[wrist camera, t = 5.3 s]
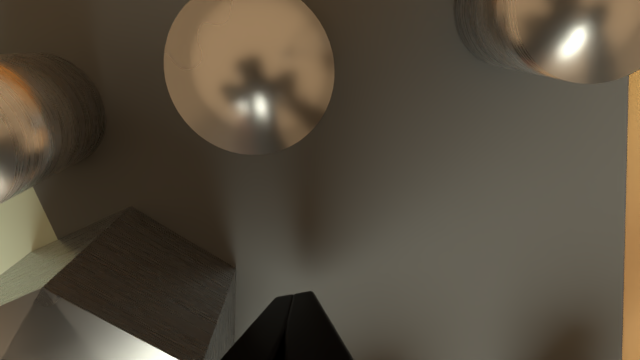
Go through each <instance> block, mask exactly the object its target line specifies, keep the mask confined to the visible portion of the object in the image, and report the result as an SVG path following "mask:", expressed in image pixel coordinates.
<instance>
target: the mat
mask: <svg viewBox="0 0 640 360" xmlns="http://www.w3.org/2000/svg"><path fill="white" fill-rule="evenodd" d="M189 1H190V0H0V55H1V54H14V53H27V52H43V53H49V54H53V55H56V56H59V57H61V58H64V59H66V60H67V61H69V62H71V63H72V64H74V65H75V66H77V67H78V68H79V69H80V70H82V71H83V72H84V73H85V74H86V75H87V76H88V77H89V78H90V80H91V81H92V82H93V84H94V85H95V87H96V88H97V90H98V92H99V94H100V96H101V98H102V101H103V105H104V109H105V115H106V125H105V131H104V135H103V138H102V140H101V142H100V144H99V145H98V147H97V148H96V149H95V151H94V152H93V153H91V154H90V155H89V156H88V157H86V158H85V159H83V160H81V161H79V162H77V163H75V164H74V165H72V166H70V167H68V168H66V169H64V170H62V171H61V172H59V173H57V174H55V175H53V176H51V177H49V178H48V179H46V180H44V181H42V182H40V183H38V184H36V185H35V186H33V188H34V191H35V193H36V195H37V197H38V199H39V201H40V203H41V205H42V207H43V209H44V212H45V214H46V216H47V218H48V220H49V222H50V224H51V226H52V228H53V230H54V233H55V235H56V237H57V239H60V238H62V237H65V236H67V235H69V234H71V233H73V232H76V231H78V230H80V229H82V228H84V227H87V226H89V225H91V224H93V223H95V222H97V221H100V220H102V219H104V218H106V217H108V216H111V215H113V214H115V213H117V212H119V211H122V210H124V209H126V208H128V207H130V206H132V207H133V208H135V209H137V210H138V211H140V212H142V213H143V214H145V215H147V216H148V217H150V218H152V219H154V220H155V221H157V222H159V223H160V224H162V225H164V226H165V227H167V228H169V229H170V230H172V231H174V232H175V233H177V234H179V235H181V236H182V237H184V238H186V239H187V240H189V241H191V242H192V243H194V244H196V245H197V246H199V247H201V248H202V249H204V250H206V251H208V252H209V253H211V254H213V255H214V256H216V257H218V258H219V259H221V260H223V261H224V262H226V263H228V264H229V265H231V266H233V267H235V268H236V297H235V331H234V343H235V342H236V341H237V340H238V339H239V338H240V337H241V336H242V334H243V333H244V332H245V331H246V330H247V329H248V328H249V326H250V325H251V324H252V323H253V322H254V321H255V320H256V319H257V317H258V316H259V315H260V314H261V313H262V312H263V311H264V310H265V308H266V307H267V306H268V305H269V304H270V303H271V302H272V301H273V299H274V298H276V297H278V296H284V295H290V294H296V293H301V292H306V291H313V292H314V294H315V295H316V297H317V299H318V300H319V302H320V304H321V305H322V307H323V309H324V310H325V312H326V314H327V315H328V317H329V319H330V320H331V322H332V324H333V325H334V327H335V329H336V330H337V332H338V334H339V335H340V337H341V339H342V340H343V342H344V344H345V345H346V347H347V349H348V350H349V352H350V354H351V355H352V357H353V359H354V360H622V334H623V292H624V251H625V209H626V168H627V126H628V84H629V75H627V76H625V77H622V78H620V79H617V80H613V81H609V82H604V83H597V84H582V83H574V82H569V81H564V80H559V79H554V78H550V77H545V76H540V75H535V74H530V73H526V72H521V71H516V70H511V69H506V68H502V67H497V66H493V65H489V64H487V63H484V62H482V61H480V60H479V59H477V58H476V57H475V56H473V55H472V54H471V53H470V52H469V51H468V50H467V49H466V48H465V46H464V45H463V43H462V42H461V40H460V38H459V35H458V33H457V30H456V26H455V21H454V0H301V1H302V2H304V3H305V4H306V5H307V6H308V8H309V9H310V10H311V11H312V12H313V13H314V14H315V16H316V17H317V18H318V20H319V21H320V23H321V25H322V27H323V28H324V30H325V32H326V34H327V37H328V39H329V42H330V45H331V49H332V53H333V59H334V85H333V91H332V95H331V99H330V101H329V104H328V106H327V109H326V111H325V113H324V114H323V116H322V118H321V119H320V121H319V122H318V123H317V125H316V126H315V127H314V128H313V129H312V130H311V132H310V133H309V134H308V135H306V136H305V137H304V138H303V139H301V140H300V141H299V142H297V143H295V144H294V145H292V146H290V147H288V148H285V149H283V150H281V151H277V152H274V153H269V154H262V155H246V154H238V153H234V152H230V151H227V150H224V149H222V148H219V147H217V146H215V145H213V144H211V143H209V142H208V141H206V140H205V139H203V138H202V137H201V136H199V135H198V134H197V133H196V132H195V131H194V130H192V129H191V127H190V126H189V125H188V124H187V123H186V122H185V121H184V119H183V118H182V117H181V115H180V114H179V112H178V111H177V109H176V107H175V105H174V104H173V102H172V99H171V97H170V94H169V92H168V88H167V84H166V81H165V74H164V51H165V44H166V40H167V36H168V33H169V31H170V28H171V26H172V24H173V22H174V20H175V18H176V17H177V15H178V13H179V12H180V11H181V10H182V8H183V7H184V6H185V5H186V4H187V3H188V2H189Z"/></svg>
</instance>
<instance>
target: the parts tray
mask: <svg viewBox="0 0 640 360" xmlns="http://www.w3.org/2000/svg"><path fill="white" fill-rule="evenodd" d="M56 240H58V239H57V237H56V235H55V233H54V230H53V228H52V226H51V224H50V222H49V220H48V218H47V216H46V214H45V212H44V209H43V207H42V205H41V203H40V201H39V199H38V197H37V195H36V193H35V191H34V188H33V187H31V188H29V189H27V190H25V191H24V192H22V193H20V194H18V195H16V196H14V197H12V198H11V199H9V200H7V201H5V202H3V203H1V204H0V275H1V274H2V273H4V272H5V271H6V270H8V269H9V268H10V267H12V266H13V265H14V264H16V263H17V262H18V261H20V260H21V259H22V258H24V257H25V256H26V255H27V254H29V253H30V252H32V251H34V250H36V249H38V248H40V247H43V246H45V245H47V244H49V243H51V242H54V241H56Z"/></svg>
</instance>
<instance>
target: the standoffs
mask: <svg viewBox="0 0 640 360" xmlns="http://www.w3.org/2000/svg"><path fill="white" fill-rule="evenodd" d="M454 21H455V26H456V30H457V33H458V35H459V38H460V40H461V42H462V43H463V45H464V46H465V48H466V49H467V50H468V51H469V52H470V53H471V54H472V55H473V56H475V57H476V58H477V59H479V60H480V61H482V62H484V63H487V64H489V65H493V66H497V67H502V68H506V69H511V70H516V71H521V72H526V73H530V74H535V75H540V76H545V77H550V78H554V79H559V80H564V81H569V82H574V83H582V84H597V83H604V82H609V81H613V80H617V79H620V78H622V77H625V76H627V75H630V74H632V73H634V72H636V71H637V70H639V69H640V0H454ZM164 74H165V81H166V84H167V88H168V92H169V94H170V97H171V99H172V102H173V104H174V105H175V107H176V109H177V111H178V112H179V114H180V115H181V117H182V118H183V119H184V121H185V122H186V123H187V124H188V125H189V126H190V127H191V129H192V130H194V131H195V132H196V133H197V134H198V135H199V136H201V137H202V138H203V139H205V140H206V141H208V142H209V143H211V144H213V145H215V146H217V147H219V148H222V149H224V150H227V151H230V152H234V153H238V154H246V155H262V154H269V153H274V152H277V151H281V150H283V149H285V148H288V147H290V146H292V145H294V144H295V143H297V142H299V141H300V140H301V139H303V138H304V137H305V136H306V135H308V134H309V133H310V132H311V130H312V129H313V128H314V127H315V126H316V125H317V123H318V122H319V121H320V119H321V118H322V116H323V114H324V113H325V111H326V109H327V106H328V104H329V101H330V99H331V95H332V91H333V85H334V59H333V53H332V49H331V45H330V42H329V39H328V37H327V34H326V32H325V30H324V28H323V27H322V25H321V23H320V21H319V20H318V18H317V17H316V16H315V14H314V13H313V12H312V11H311V10H310V9H309V8H308V6H307V5H306V4H305V3H304V2H302V1H301V0H190V1H189V2H188V3H187V4H186V5H185V6H184V7H183V8H182V10H181V11H180V12H179V13H178V15H177V17H176V18H175V20H174V22H173V24H172V26H171V28H170V31H169V33H168V36H167V40H166V44H165V51H164ZM105 125H106V115H105V109H104V105H103V101H102V98H101V96H100V94H99V92H98V90H97V88H96V87H95V85H94V84H93V82H92V81H91V80H90V78H89V77H88V76H87V75H86V74H85V73H84V72H83V71H82V70H80V69H79V68H78V67H77V66H75V65H74V64H72V63H71V62H69V61H67V60H66V59H64V58H61V57H59V56H56V55H53V54H49V53H43V52H27V53H14V54H1V55H0V204H1V203H3V202H5V201H7V200H9V199H11V198H12V197H14V196H16V195H18V194H20V193H22V192H24V191H25V190H27V189H29V188H31V187H33V186H35V185H36V184H38V183H40V182H42V181H44V180H46V179H48V178H49V177H51V176H53V175H55V174H57V173H59V172H61V171H62V170H64V169H66V168H68V167H70V166H72V165H74V164H75V163H77V162H79V161H81V160H83V159H85V158H86V157H88V156H89V155H90V154H91V153H93V152H94V151H95V149H96V148H97V147H98V145H99V144H100V142H101V140H102V138H103V135H104V131H105Z"/></svg>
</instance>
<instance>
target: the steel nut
mask: <svg viewBox="0 0 640 360" xmlns="http://www.w3.org/2000/svg"><path fill="white" fill-rule="evenodd" d="M235 297H236V268H235V267H233V266H231V265H229V264H228V263H226V262H224V261H223V260H221V259H219V258H218V257H216V256H214V255H213V254H211V253H209V252H208V251H206V250H204V249H202V248H201V247H199V246H197V245H196V244H194V243H192V242H191V241H189V240H187V239H186V238H184V237H182V236H181V235H179V234H177V233H175V232H174V231H172V230H170V229H169V228H167V227H165V226H164V225H162V224H160V223H159V222H157V221H155V220H154V219H152V218H150V217H148V216H147V215H145V214H143V213H142V212H140V211H138V210H137V209H135V208H133V207H132V206H130V207H128V208H126V209H124V210H122V211H119V212H117V213H115V214H113V215H111V216H108V217H106V218H104V219H102V220H100V221H97V222H95V223H93V224H91V225H89V226H87V227H84V228H82V229H80V230H78V231H76V232H73V233H71V234H69V235H67V236H65V237H62V238H60V239H58V240H56V241H54V242H51V243H49V244H47V245H45V246H43V247H40V248H38V249H36V250H34V251H32V252H30V253H29V254H27V255H26V256H25V257H24V258H22V259H21V260H20V261H18V262H17V263H16V264H14V265H13V266H12V267H10V268H9V269H8V270H6V271H5V272H4V273H2V274H1V275H0V360H220V359H221V358H222V357H223V356H224V355H225V354H226V352H227V351H228V350H229V349H230V348H231V347H232V346H233V345H234V331H235Z"/></svg>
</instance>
